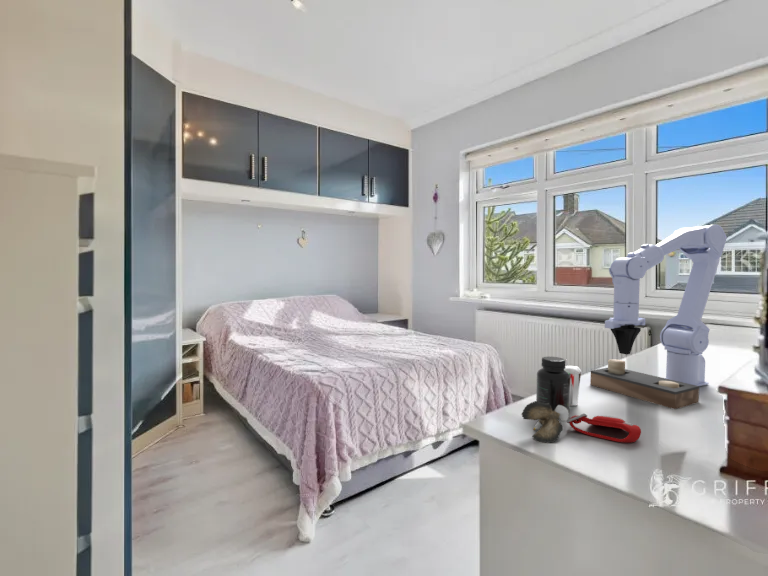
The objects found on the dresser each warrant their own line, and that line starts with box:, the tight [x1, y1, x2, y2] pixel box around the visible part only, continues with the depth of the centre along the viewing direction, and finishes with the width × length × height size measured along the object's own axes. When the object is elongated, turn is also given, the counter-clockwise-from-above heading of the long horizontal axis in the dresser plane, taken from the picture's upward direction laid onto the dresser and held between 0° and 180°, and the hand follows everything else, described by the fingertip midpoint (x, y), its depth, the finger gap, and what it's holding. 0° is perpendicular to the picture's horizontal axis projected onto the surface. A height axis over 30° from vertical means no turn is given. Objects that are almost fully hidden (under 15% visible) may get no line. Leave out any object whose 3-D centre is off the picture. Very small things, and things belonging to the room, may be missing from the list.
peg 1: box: [607, 358, 626, 375], centre depth 106 cm, size 4×4×4 cm
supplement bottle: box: [535, 356, 571, 414], centre depth 87 cm, size 7×7×12 cm
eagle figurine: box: [520, 400, 570, 444], centre depth 76 cm, size 8×7×9 cm
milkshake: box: [564, 358, 582, 407], centre depth 93 cm, size 5×5×10 cm
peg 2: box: [659, 381, 679, 388], centre depth 94 cm, size 4×4×4 cm
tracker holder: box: [566, 413, 642, 444], centre depth 75 cm, size 12×4×10 cm
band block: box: [589, 367, 700, 410], centre depth 100 cm, size 10×21×4 cm, turn 26°
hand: (624, 353), depth 104 cm, fingers closed
